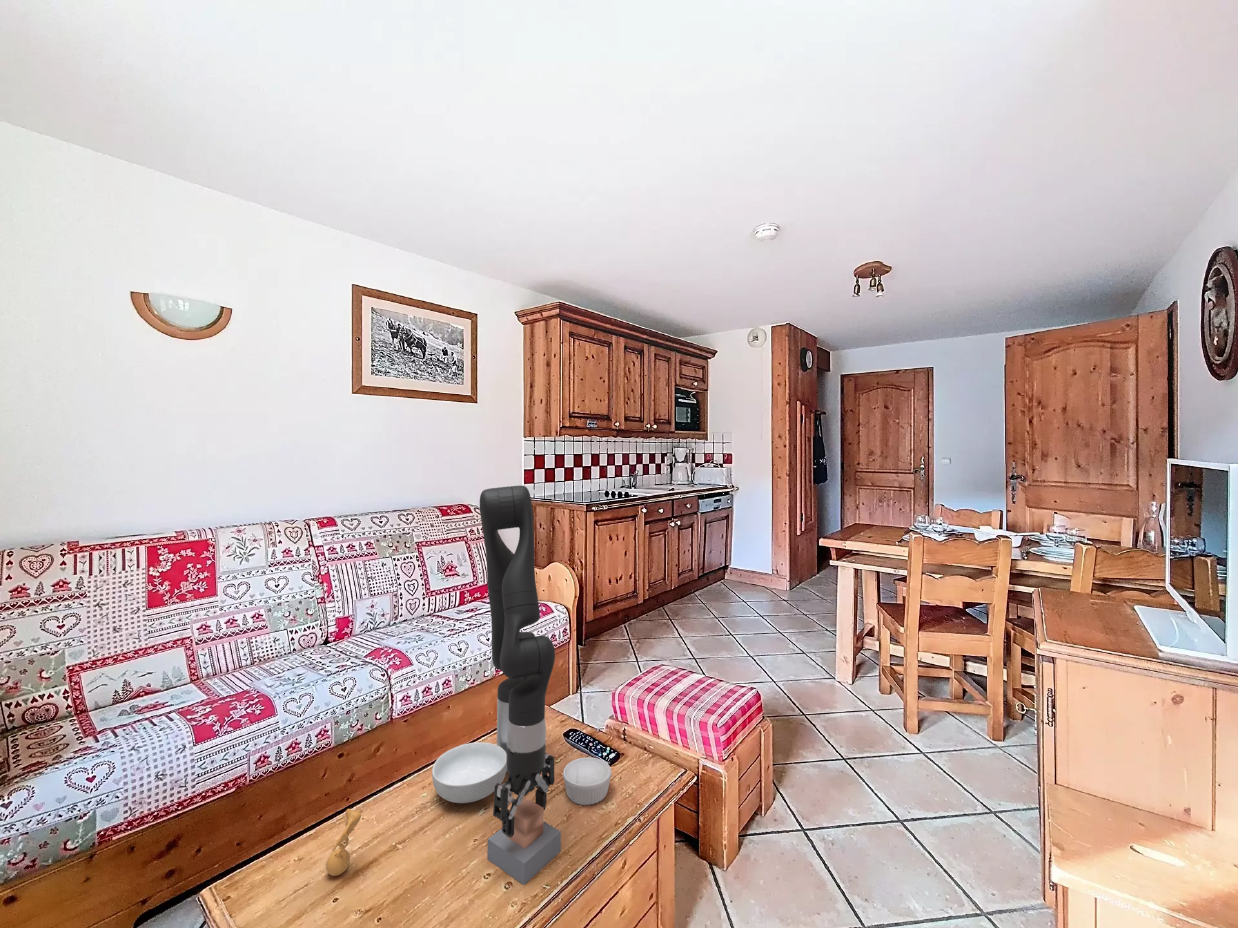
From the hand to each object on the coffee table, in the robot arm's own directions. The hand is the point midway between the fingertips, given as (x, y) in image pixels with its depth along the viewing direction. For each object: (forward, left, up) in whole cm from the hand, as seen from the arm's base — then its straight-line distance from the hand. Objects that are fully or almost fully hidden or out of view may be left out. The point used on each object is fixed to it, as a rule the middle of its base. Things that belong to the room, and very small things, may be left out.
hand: (524, 821), depth 100 cm
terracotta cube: (0, 0, -3) cm, 3 cm away
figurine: (+23, -24, -7) cm, 34 cm away
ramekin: (-22, -2, -7) cm, 23 cm away
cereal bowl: (-6, -24, -7) cm, 26 cm away
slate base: (0, 0, -7) cm, 7 cm away
